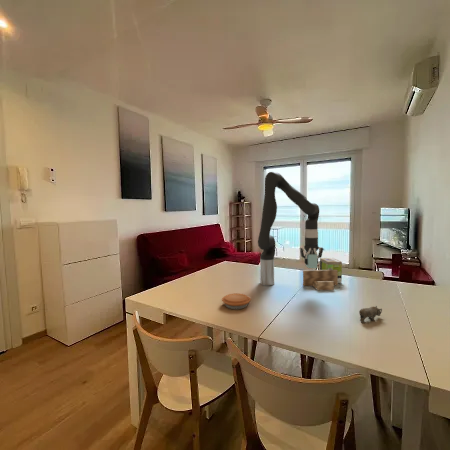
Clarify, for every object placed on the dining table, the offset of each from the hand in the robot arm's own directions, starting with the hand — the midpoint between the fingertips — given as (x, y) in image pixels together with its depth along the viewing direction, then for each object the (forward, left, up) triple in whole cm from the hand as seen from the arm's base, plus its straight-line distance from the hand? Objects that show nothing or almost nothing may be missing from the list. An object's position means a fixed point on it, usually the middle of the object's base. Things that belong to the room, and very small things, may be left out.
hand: (311, 264), depth 152 cm
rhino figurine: (+15, -39, -17) cm, 45 cm away
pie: (-46, -19, -17) cm, 53 cm away
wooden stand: (+10, +9, -17) cm, 22 cm away
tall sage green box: (0, 0, -1) cm, 1 cm away
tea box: (+21, +25, -17) cm, 37 cm away
